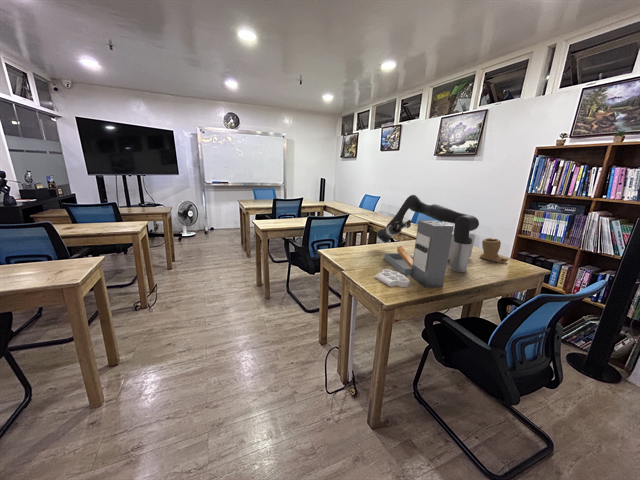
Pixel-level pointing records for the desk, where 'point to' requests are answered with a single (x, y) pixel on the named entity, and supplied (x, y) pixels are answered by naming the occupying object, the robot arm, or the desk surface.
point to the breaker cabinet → (431, 253)
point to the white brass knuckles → (392, 278)
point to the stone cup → (492, 250)
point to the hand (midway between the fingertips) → (406, 221)
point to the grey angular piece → (453, 243)
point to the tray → (398, 263)
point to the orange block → (405, 256)
